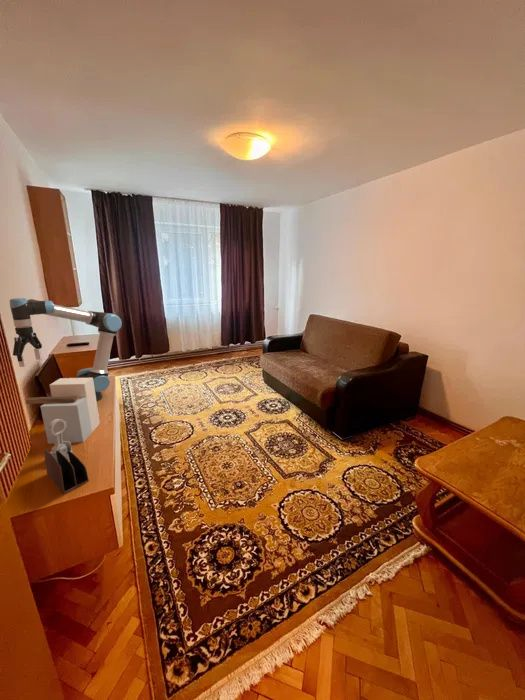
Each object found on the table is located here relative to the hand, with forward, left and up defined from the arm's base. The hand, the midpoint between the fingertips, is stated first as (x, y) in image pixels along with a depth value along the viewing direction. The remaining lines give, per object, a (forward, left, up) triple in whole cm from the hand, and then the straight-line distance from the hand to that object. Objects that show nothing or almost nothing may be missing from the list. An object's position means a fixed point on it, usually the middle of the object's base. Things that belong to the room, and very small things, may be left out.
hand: (31, 362), depth 163 cm
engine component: (+36, +30, -39) cm, 61 cm away
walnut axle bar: (+18, +19, -17) cm, 31 cm away
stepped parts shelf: (+13, +25, -39) cm, 48 cm away
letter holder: (+52, +41, -39) cm, 77 cm away
